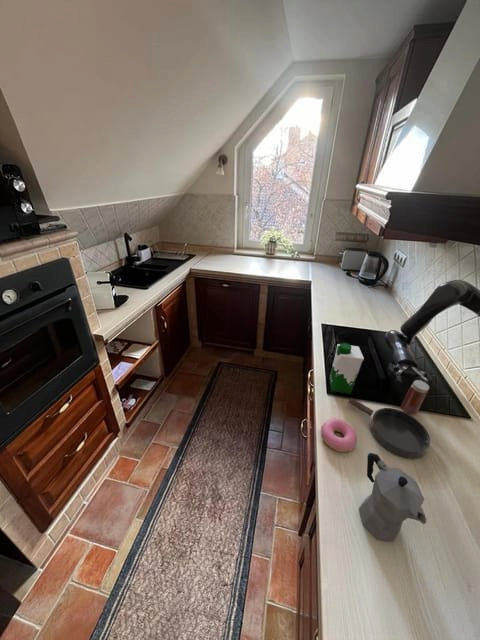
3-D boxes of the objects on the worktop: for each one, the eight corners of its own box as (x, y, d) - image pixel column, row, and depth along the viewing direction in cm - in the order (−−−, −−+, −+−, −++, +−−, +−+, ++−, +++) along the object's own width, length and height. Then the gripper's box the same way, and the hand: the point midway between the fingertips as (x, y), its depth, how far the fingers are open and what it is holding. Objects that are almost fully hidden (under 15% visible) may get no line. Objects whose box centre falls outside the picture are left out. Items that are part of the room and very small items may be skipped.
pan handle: (372, 413, 88) (373, 410, 87) (370, 416, 87) (371, 413, 86) (350, 399, 93) (351, 397, 92) (348, 402, 92) (348, 400, 91)
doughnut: (312, 432, 83) (314, 423, 81) (336, 418, 88) (339, 410, 86) (338, 460, 75) (341, 452, 73) (363, 444, 80) (366, 436, 78)
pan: (408, 415, 90) (411, 408, 88) (437, 460, 76) (442, 453, 74) (362, 413, 90) (364, 407, 88) (383, 458, 76) (387, 451, 74)
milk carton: (326, 378, 106) (336, 338, 96) (349, 380, 104) (361, 340, 94) (329, 393, 98) (341, 352, 88) (354, 396, 97) (368, 355, 87)
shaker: (412, 403, 95) (424, 379, 89) (420, 415, 90) (433, 390, 84) (398, 403, 95) (409, 379, 89) (405, 414, 90) (418, 390, 84)
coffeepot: (416, 546, 58) (450, 507, 49) (382, 560, 56) (412, 522, 47) (369, 478, 71) (390, 437, 62) (340, 487, 69) (357, 447, 60)
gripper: (388, 349, 106) (394, 374, 93) (427, 357, 102) (440, 383, 89) (383, 363, 110) (388, 388, 97) (420, 371, 106) (431, 399, 93)
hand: (413, 386), depth 93 cm, fingers open, 8 cm apart
